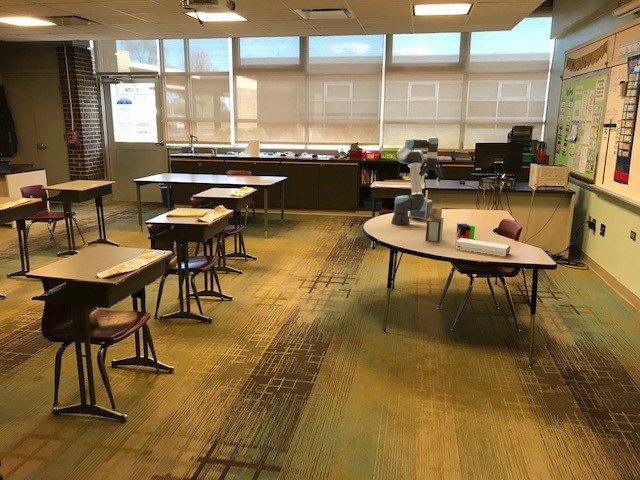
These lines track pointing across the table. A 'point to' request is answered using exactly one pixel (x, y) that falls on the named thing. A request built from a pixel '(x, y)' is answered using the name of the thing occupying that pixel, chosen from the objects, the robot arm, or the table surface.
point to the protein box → (434, 230)
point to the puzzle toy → (465, 231)
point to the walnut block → (435, 213)
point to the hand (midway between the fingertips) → (429, 185)
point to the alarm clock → (422, 212)
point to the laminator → (482, 247)
